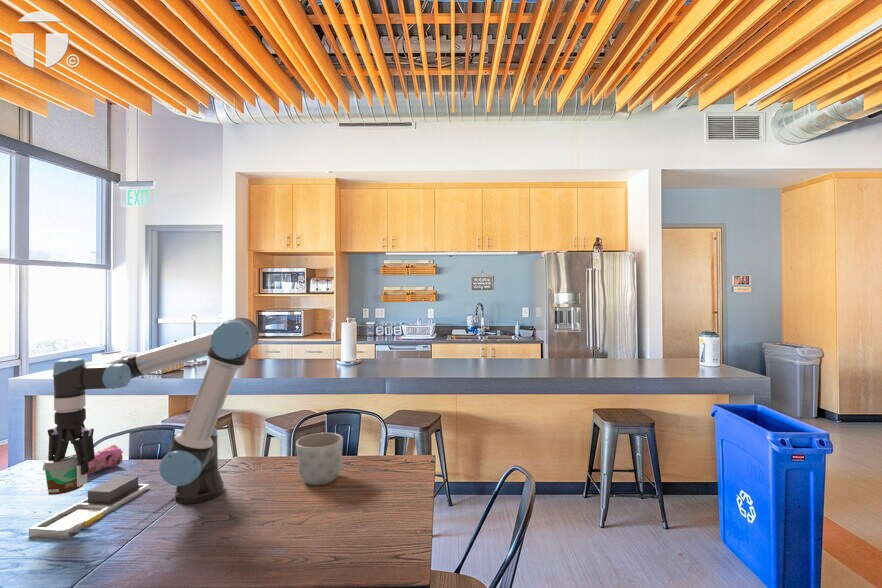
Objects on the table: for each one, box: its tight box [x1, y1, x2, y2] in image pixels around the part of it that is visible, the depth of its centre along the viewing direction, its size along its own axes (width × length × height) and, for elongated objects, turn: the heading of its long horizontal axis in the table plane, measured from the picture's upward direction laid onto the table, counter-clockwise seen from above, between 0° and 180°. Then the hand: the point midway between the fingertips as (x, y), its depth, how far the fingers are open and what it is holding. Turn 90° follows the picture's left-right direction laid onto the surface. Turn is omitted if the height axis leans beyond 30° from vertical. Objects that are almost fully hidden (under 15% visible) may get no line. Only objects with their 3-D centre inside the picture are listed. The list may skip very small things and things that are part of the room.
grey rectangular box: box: [87, 475, 139, 504], centre depth 157 cm, size 8×12×5 cm, turn 173°
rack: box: [28, 483, 150, 540], centre depth 149 cm, size 14×31×3 cm, turn 173°
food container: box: [42, 453, 84, 496], centre depth 142 cm, size 12×6×10 cm, turn 169°
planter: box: [295, 432, 344, 486], centre depth 171 cm, size 17×17×15 cm
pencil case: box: [87, 444, 124, 476], centre depth 179 cm, size 21×9×9 cm, turn 155°
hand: (72, 483), depth 142 cm, fingers closed on food container, 6 cm apart
